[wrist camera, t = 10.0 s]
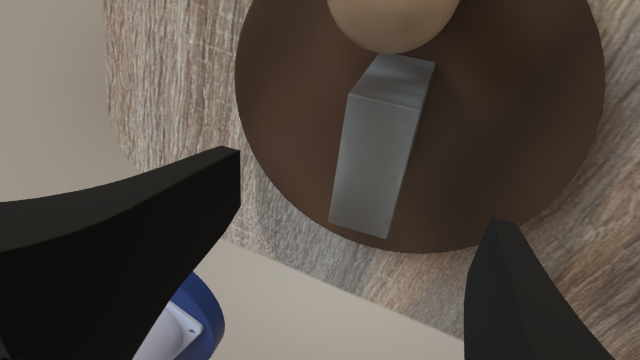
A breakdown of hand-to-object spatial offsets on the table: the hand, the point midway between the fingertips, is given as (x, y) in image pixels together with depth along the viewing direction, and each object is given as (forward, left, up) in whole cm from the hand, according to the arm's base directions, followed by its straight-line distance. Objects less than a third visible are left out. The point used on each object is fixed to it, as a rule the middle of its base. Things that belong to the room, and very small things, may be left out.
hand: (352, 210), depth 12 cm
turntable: (0, 0, -8) cm, 8 cm away
